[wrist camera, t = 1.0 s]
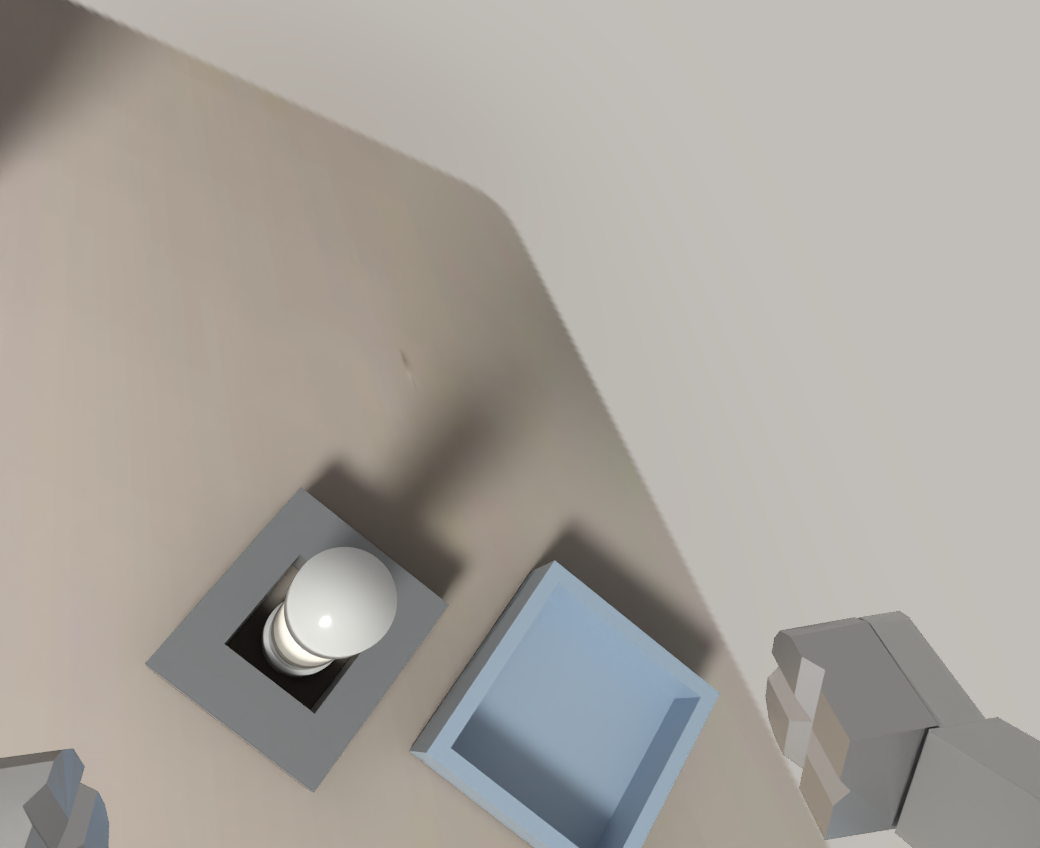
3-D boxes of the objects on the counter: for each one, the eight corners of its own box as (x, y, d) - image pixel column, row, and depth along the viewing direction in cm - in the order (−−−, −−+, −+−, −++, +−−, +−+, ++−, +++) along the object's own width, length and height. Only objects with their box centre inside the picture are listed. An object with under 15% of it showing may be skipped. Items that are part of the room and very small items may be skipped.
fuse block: (148, 668, 39) (144, 663, 36) (294, 502, 43) (300, 487, 40) (305, 788, 39) (313, 792, 37) (433, 612, 44) (448, 604, 41)
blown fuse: (244, 646, 40) (265, 610, 28) (294, 585, 42) (336, 525, 29) (304, 692, 41) (352, 677, 28) (352, 630, 42) (417, 590, 30)
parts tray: (409, 750, 41) (426, 752, 38) (530, 571, 46) (554, 560, 43) (583, 886, 42) (614, 899, 39) (685, 695, 47) (719, 693, 44)
